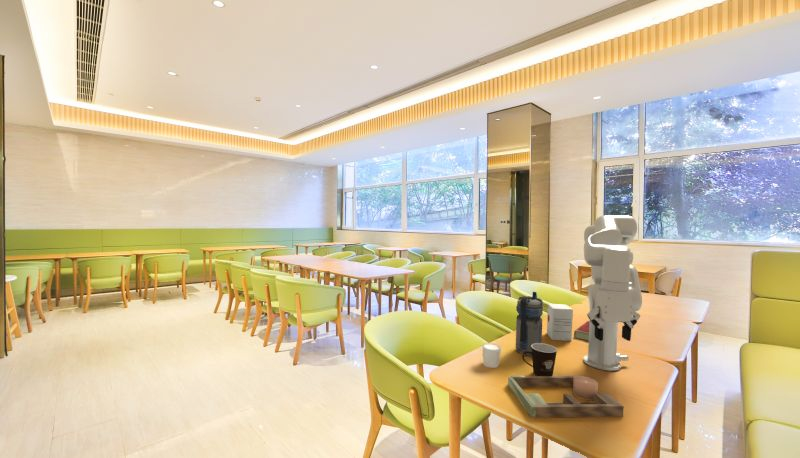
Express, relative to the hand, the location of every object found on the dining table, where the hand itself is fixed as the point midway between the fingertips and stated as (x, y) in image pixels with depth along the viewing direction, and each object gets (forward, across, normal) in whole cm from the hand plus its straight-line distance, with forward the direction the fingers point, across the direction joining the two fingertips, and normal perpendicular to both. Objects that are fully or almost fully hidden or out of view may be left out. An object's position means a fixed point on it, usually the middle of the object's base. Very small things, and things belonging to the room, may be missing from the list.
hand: (612, 339), depth 111 cm
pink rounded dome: (+18, +8, 0) cm, 20 cm away
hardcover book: (+19, -28, -54) cm, 64 cm away
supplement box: (+18, -9, -51) cm, 55 cm away
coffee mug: (+18, +17, -14) cm, 29 cm away
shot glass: (+18, +32, -22) cm, 43 cm away
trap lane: (+18, +18, +3) cm, 26 cm away
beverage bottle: (+18, +14, -33) cm, 40 cm away
